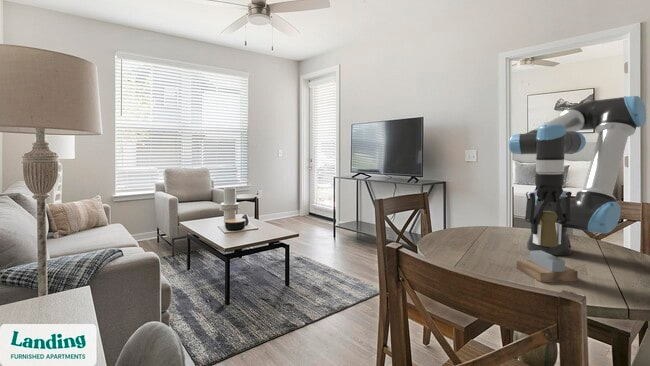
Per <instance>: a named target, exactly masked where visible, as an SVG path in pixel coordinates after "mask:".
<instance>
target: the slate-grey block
mask: <svg viewBox="0 0 650 366" xmlns="http://www.w3.org/2000/svg"><path fill="white" fill-rule="evenodd" d="M529 260H530V261H531V262H533V263H535V264H537V265H539V266H541V267H543V268H545V269H547V270H549V271H551V272H565V266H566V260H564V259H562V258H560V257H557V256H556V255H551V254H548V253H546V252H544V251H542V250H539V251H531V250H529Z"/></svg>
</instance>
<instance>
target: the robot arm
mask: <svg viewBox="0 0 650 366" xmlns="http://www.w3.org/2000/svg"><path fill="white" fill-rule="evenodd" d="M646 119H647V111H646V105H645V103H644V100H643V99H642V98H641V96H638V95H631V96H629V95H628V96H626V95H625V96H621V97H612V98H606V99H596V100H595V99H594V100H589V101H586V102H582V103H580V104H578V105H575V106H573V107H570V108H567V109H565V110H563V112H561V113H560V114H559V115H558V116H557V117H556V118H554V119H552V120H550V121H548V122H546V123H544V124H542V125H539V126H538V127H536V128H534V129H532V130H530V131H528V132H526V133H516V134H513V135H511V137H510V138H509V140H508V149H509V151H510V153H512V154H513V155H514V154H515V155H536V157H535V172H536V174H535V178H534V180H535V181H534V182H535V189H534V190H533V191H530V192H529V191H526V193H525V196H526V206H525V218H524V221H525V222H527V223H530V227H531V228H530V235H529V237H528V240H527V242H526V249H528V250H529V251H539V250H542V251H544V252H546V253H548V254H551V255H553V256H569V255H571V254H572V251H573V250H572V249H573V247H572V244H571V240H570V239H569V236H568V229H572V230H578V231H584V232H590V233H592V234H594V233H596V234H597V233H598V234H609V233H611V232H612V231H613V230H614V229H615V228H616V227H617V225H618V223H619V221H620V219H621V211H622V208H621V206H620V203H618V202H617V198H616V197H615V196H614V195H613V193H614V190H615V186H616V183H617V178H618V175H619V171H620V169H621V168H620V167H621V163H622V160H623V157H624V154H625V153H624V152H625V149H626V145H627V143H628V139H629V137H631V136H633V135H634V134H635V132H636V130H637V128H641V127H643V126H645V125H646V121H647V120H646ZM586 130H595V132H596V133H597V134H598V136H597V139H596V143H595V147H594V150H593V154H592V156H591V160H590V165H589V168H588V171H587V175H586V178H585V180H584V181H585V182H584V185H583V188H582V189H581V190H579V191H577V192H576V194H575V197H573V198H572V191H567V190H564V189H563V185H564V178H565V177H564V174H563V173H564V172H565V155H574V154H576V153H579V152H581V151H582V150H583V149H584V148H585V146H586V143H587V141H586V140H587V139H586V137H585V136H584V135H583V134H582V133H581V132H580V131H586ZM543 211H552V212H555V213H556V214H557V216H558V217H557V220H556V221H555V225H556V234H557V243H558V246H556V247H546V246H541V225H539V224H540V219H541V216H542V213H543Z"/></svg>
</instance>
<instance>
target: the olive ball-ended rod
mask: <svg viewBox="0 0 650 366" xmlns="http://www.w3.org/2000/svg"><path fill="white" fill-rule="evenodd" d="M557 217H558V216H557V214H556V213H555V212H552V211H543V213H542V216H541V219H540V224H539V225H541V246H546V247H556V246H558V243H557V234H556V225H555V221H556V220H557Z"/></svg>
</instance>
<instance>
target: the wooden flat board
mask: <svg viewBox="0 0 650 366" xmlns="http://www.w3.org/2000/svg"><path fill="white" fill-rule="evenodd" d="M515 266H516V270H518V271H520V272H521V273H523V274H525V275H526V276H528V277H530V278H532V279H534V280H535V279H536V280H535V281H537V282H539V283H553V282H554V283H555V282H556V283H557V282H558V281H559V282H575V281H576V282H577V281H578V276H579V274H578V273H579V272H578V271H577V270H575V269H573V268H570V267H569V266H567V265H565V272H551V271H549V270H547V269H545V268H543V267H541V266H539V265H537V264H535V263H533V262H531V261H530V259H523V260H521V259H520V260H516V265H515Z"/></svg>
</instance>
